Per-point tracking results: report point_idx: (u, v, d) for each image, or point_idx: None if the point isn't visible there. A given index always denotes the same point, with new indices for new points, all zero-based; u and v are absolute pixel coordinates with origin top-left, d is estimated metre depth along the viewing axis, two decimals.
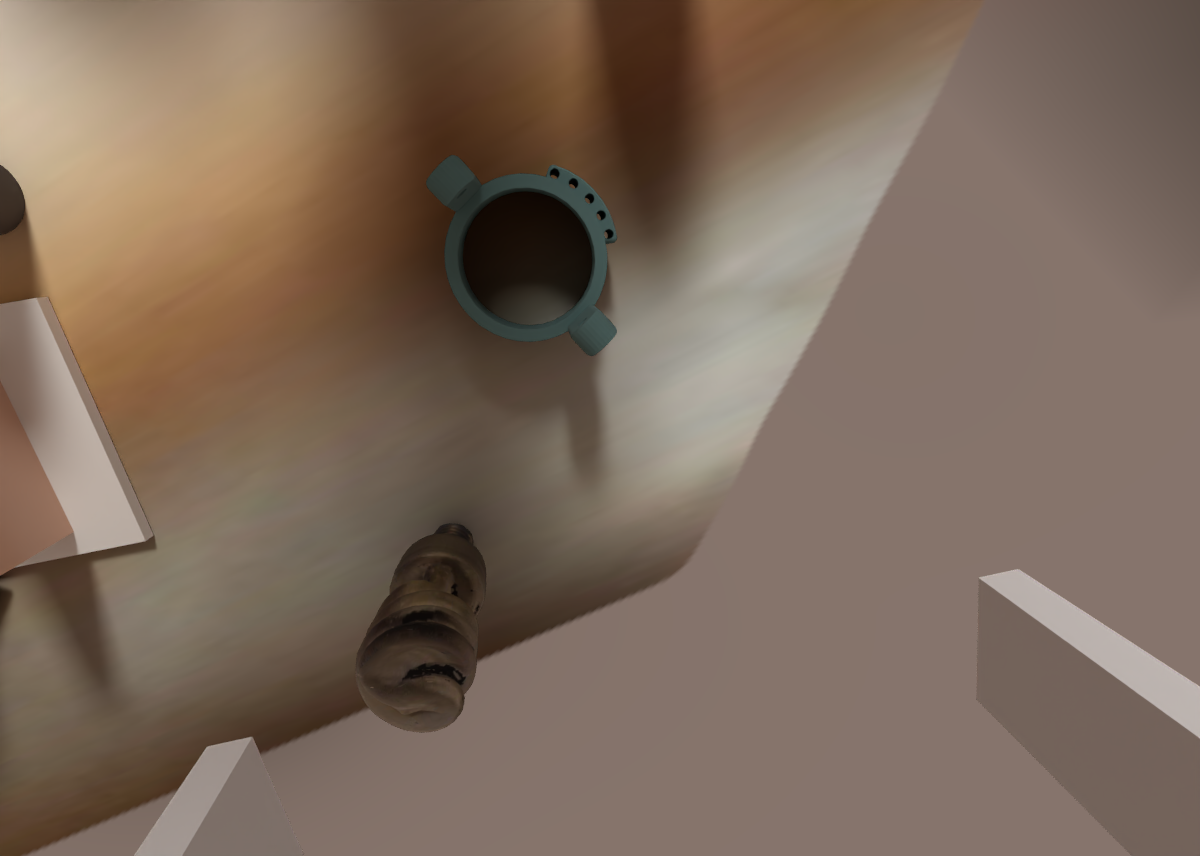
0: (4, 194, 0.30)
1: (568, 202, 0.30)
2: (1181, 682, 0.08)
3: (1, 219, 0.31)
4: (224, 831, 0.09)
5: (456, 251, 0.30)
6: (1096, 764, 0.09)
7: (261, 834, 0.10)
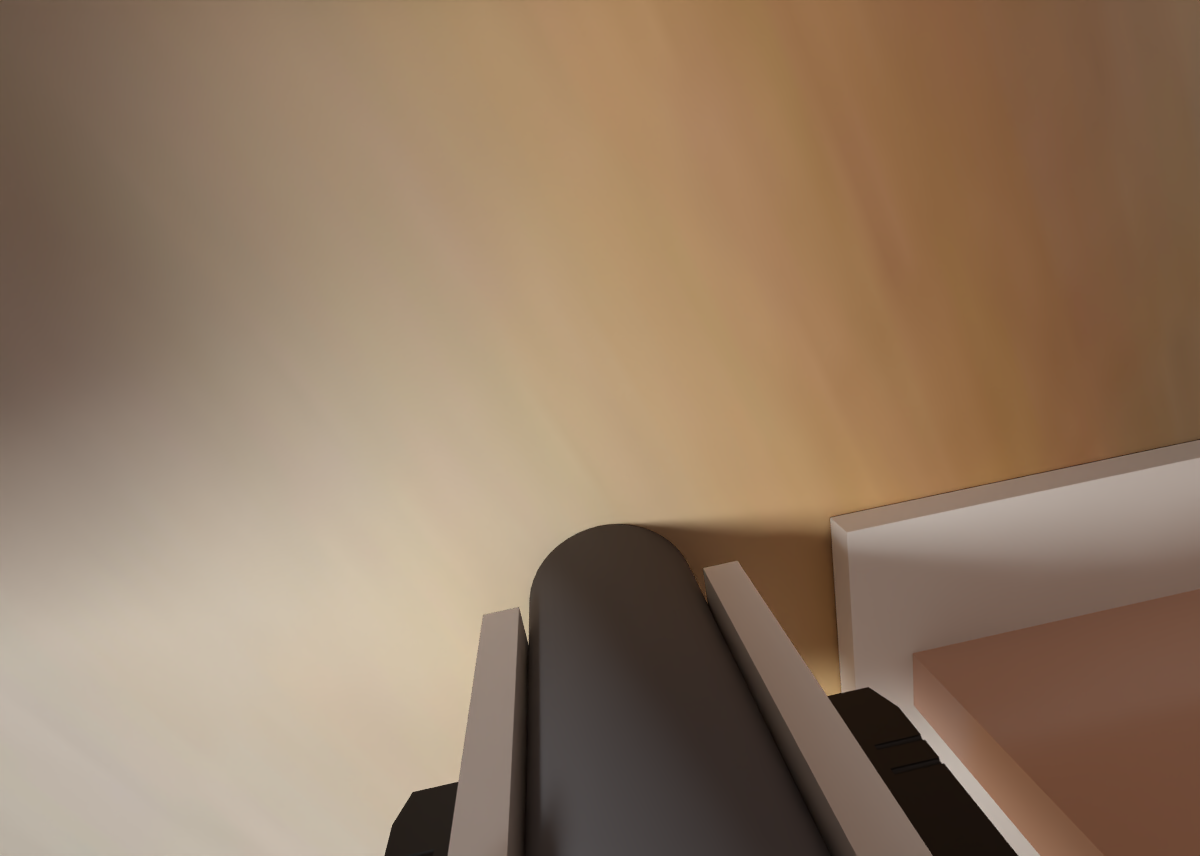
0: (621, 548, 0.13)
1: None
2: (794, 649, 0.10)
3: (677, 564, 0.13)
4: (522, 670, 0.11)
5: None
6: None
7: None
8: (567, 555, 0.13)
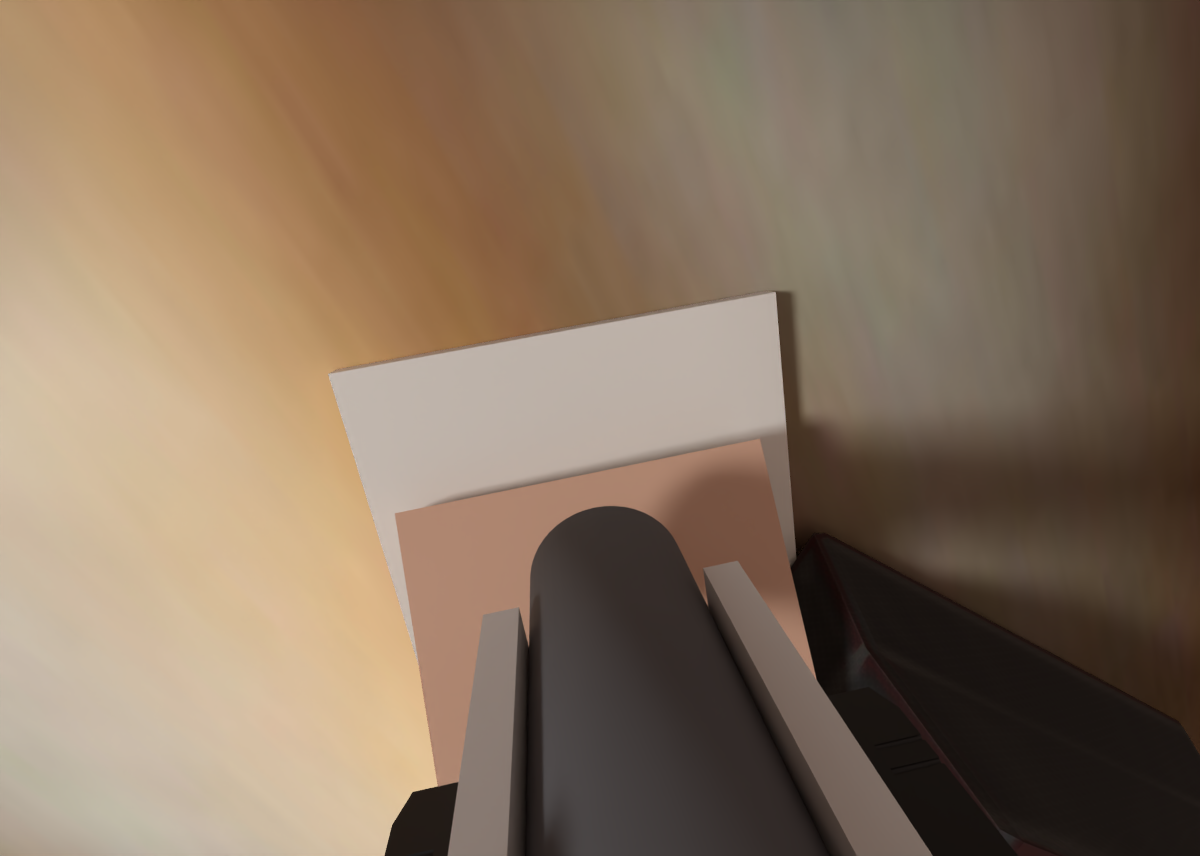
0: (614, 526, 0.14)
1: None
2: (793, 650, 0.10)
3: (666, 541, 0.14)
4: (522, 670, 0.11)
5: None
6: None
7: None
8: (564, 533, 0.14)
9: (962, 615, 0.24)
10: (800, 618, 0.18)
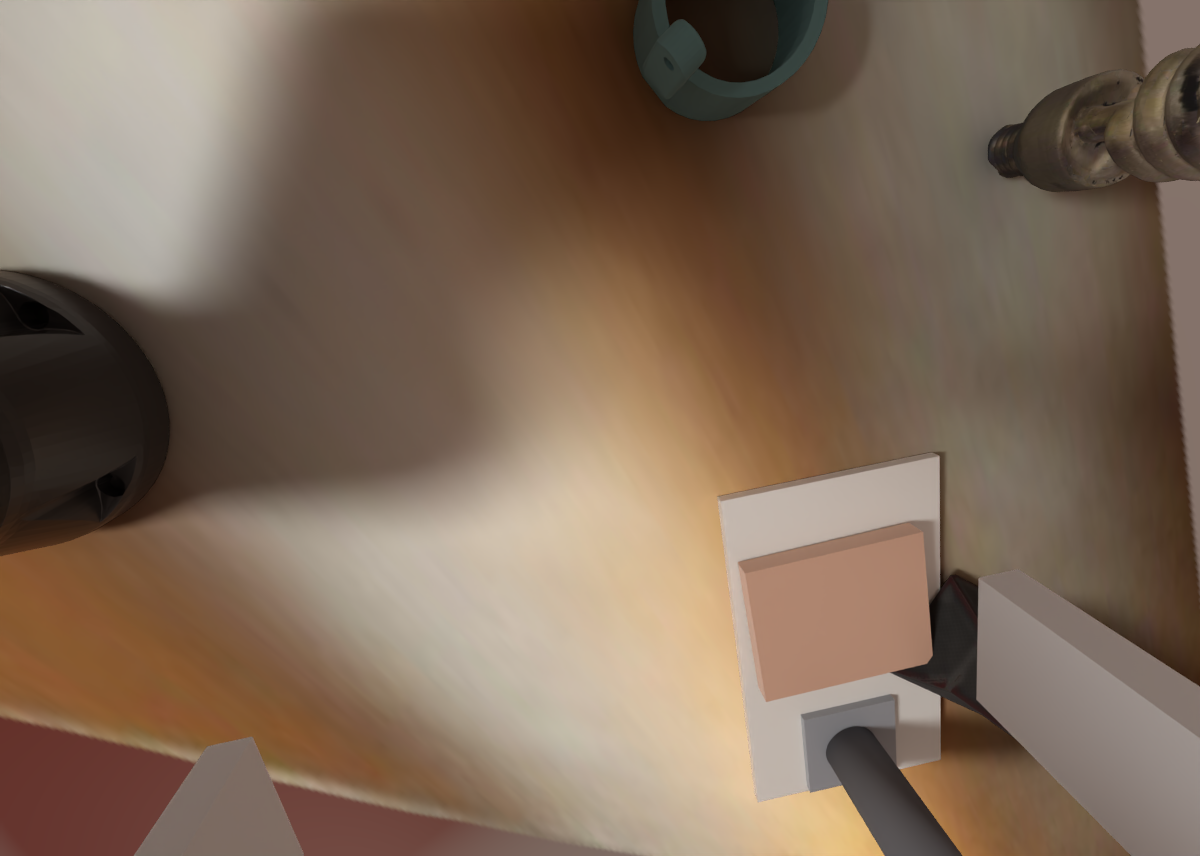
0: (863, 738, 0.43)
1: None
2: (1181, 682, 0.08)
3: (878, 742, 0.43)
4: (223, 832, 0.09)
5: (726, 82, 0.28)
6: (1097, 765, 0.09)
7: (261, 834, 0.10)
8: (845, 739, 0.43)
9: None
10: (928, 608, 0.40)
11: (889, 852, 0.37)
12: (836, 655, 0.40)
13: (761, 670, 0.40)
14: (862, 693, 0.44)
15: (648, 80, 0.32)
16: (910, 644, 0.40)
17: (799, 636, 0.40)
